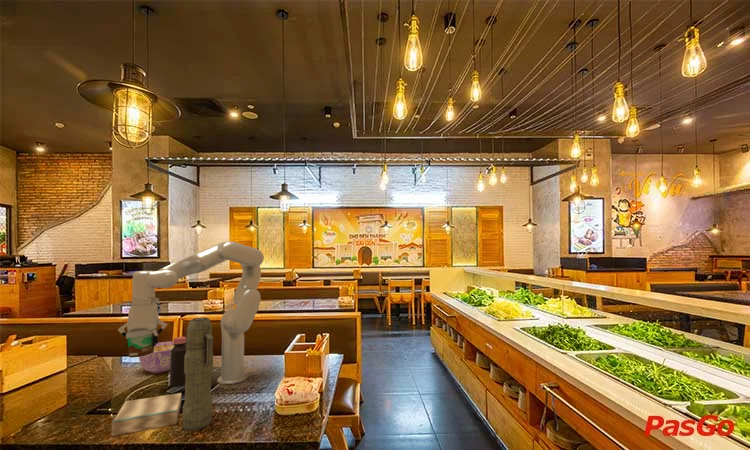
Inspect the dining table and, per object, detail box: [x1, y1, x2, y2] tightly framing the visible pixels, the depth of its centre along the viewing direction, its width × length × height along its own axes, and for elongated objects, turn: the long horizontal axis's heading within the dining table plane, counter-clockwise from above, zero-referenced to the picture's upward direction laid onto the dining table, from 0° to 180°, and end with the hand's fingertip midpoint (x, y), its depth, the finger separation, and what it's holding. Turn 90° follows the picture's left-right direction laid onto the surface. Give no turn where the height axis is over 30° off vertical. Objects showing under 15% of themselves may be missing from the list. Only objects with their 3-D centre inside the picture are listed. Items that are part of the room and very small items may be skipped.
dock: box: [111, 392, 182, 437], centre depth 124 cm, size 18×18×4 cm
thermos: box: [181, 317, 214, 431], centre depth 120 cm, size 9×12×35 cm
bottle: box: [169, 336, 186, 387], centre depth 157 cm, size 7×7×20 cm
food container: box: [125, 328, 157, 359], centre depth 140 cm, size 12×6×10 cm, turn 171°
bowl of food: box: [138, 341, 174, 374], centre depth 175 cm, size 20×20×12 cm
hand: (142, 346), depth 139 cm, fingers closed on food container, 7 cm apart
